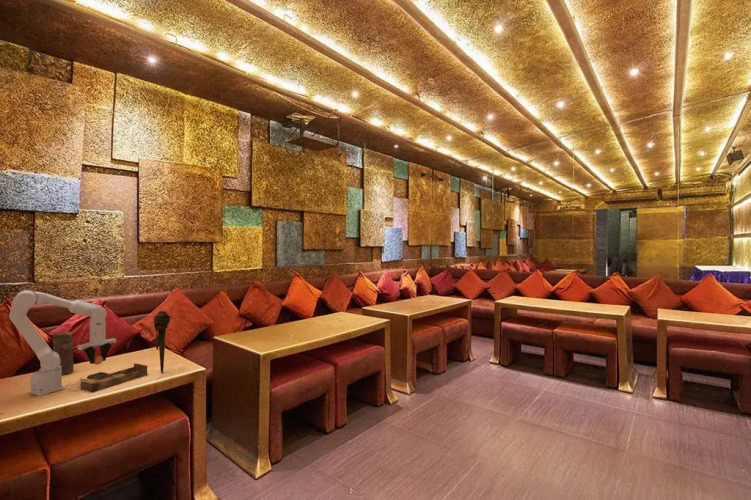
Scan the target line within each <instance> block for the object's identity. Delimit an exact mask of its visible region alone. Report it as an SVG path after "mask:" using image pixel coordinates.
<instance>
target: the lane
mask: <svg viewBox="0 0 751 500" xmlns="http://www.w3.org/2000/svg"><path fill="white" fill-rule="evenodd" d="M145 376H148V365H146V364H141V363H135V362H134V363H133V366H132V367H129V368H124V369H121V370H118V371H115V372H112V373H108V374H107V375H103V376H100V377H96V378H93V379H87V378H80V379H79V382H80V390H83V391H85V392H91V393H96V392H99V391H101V390H105V389H107V388H111V387H114V386H116V385H121V384H123V383H126V382H129V381H133V380H136V379H138V378H142V377H145Z"/></svg>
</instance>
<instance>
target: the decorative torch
mask: <svg viewBox="0 0 751 500" xmlns="http://www.w3.org/2000/svg"><path fill="white" fill-rule="evenodd" d="M170 321H171V315H169V314H168V313H167V311H165V310H161V311H158V312H157V313H156V315H154V317H153V323H154V324H153V327H154V329H155V333H156V334H155V335H156V336H155V339H154V345H155V348H156V350H157V351H158V352H159V363H160V364H159V365H160V373H162V374H163V373H164V365H165V363H164V362H165V352H166V351H165V350H166V334H167V333H166V331H167V328H168V326H169V324H170Z"/></svg>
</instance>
